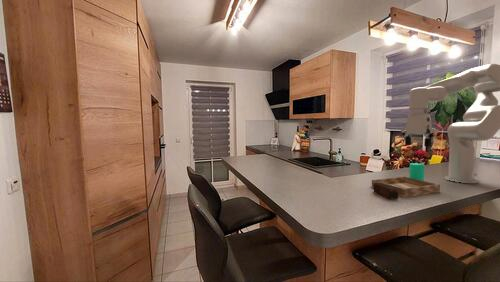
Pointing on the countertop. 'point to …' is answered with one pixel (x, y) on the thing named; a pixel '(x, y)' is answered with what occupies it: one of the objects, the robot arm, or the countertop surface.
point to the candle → (417, 171)
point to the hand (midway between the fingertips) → (417, 145)
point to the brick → (385, 191)
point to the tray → (409, 186)
